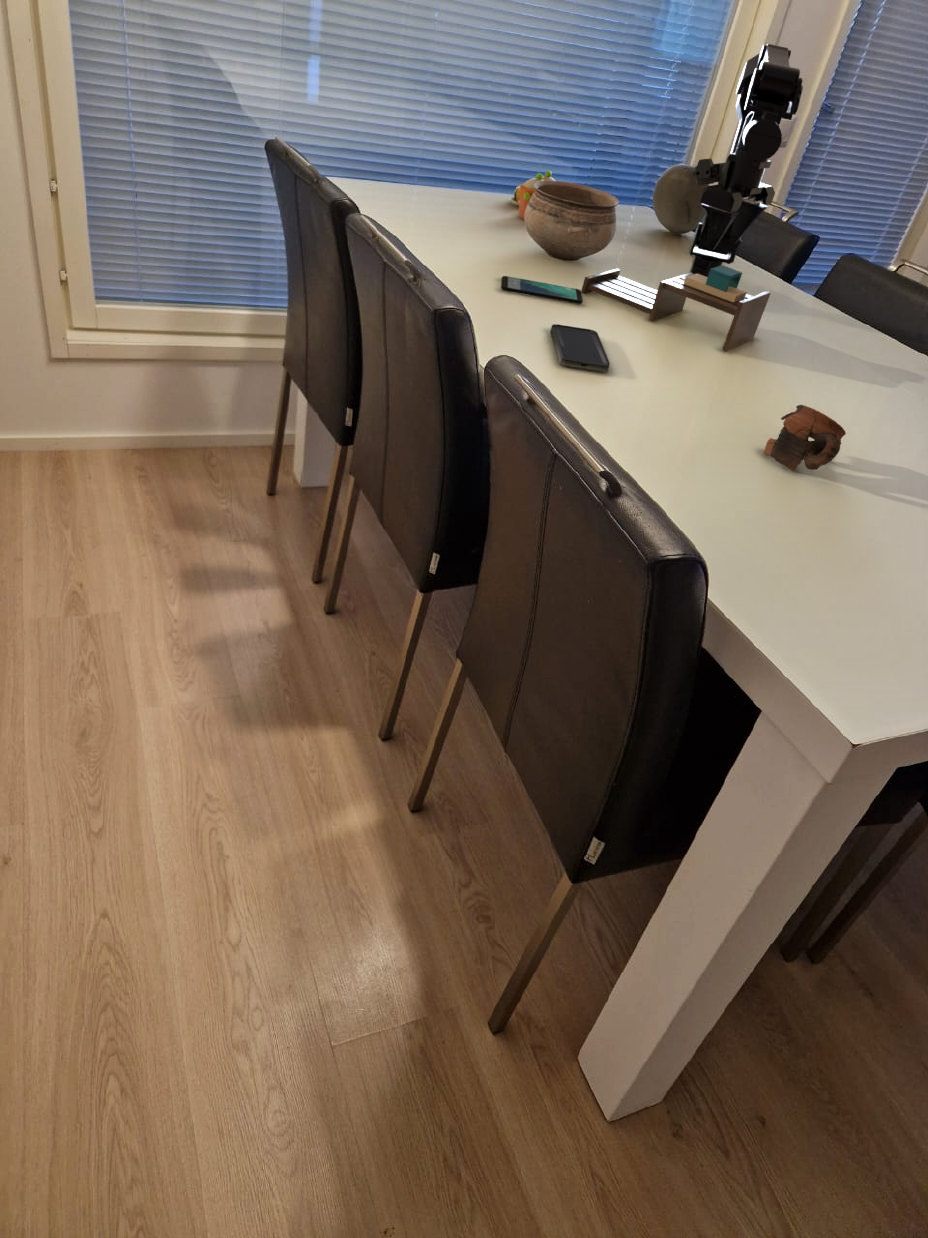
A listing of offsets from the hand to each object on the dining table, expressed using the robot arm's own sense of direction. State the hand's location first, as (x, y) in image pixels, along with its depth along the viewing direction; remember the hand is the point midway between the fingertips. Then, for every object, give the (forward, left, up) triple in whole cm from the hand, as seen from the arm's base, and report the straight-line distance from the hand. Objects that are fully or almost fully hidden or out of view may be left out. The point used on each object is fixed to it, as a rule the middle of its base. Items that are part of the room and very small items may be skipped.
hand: (721, 245), depth 157 cm
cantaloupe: (-52, -34, -13) cm, 63 cm away
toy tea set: (-28, -57, -13) cm, 65 cm away
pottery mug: (+44, +38, -13) cm, 59 cm away
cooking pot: (-3, -34, -13) cm, 36 cm away
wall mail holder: (+8, +4, -6) cm, 11 cm away
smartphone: (+22, -22, -12) cm, 34 cm away
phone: (+40, -2, -12) cm, 42 cm away
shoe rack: (+8, -3, -12) cm, 15 cm away
